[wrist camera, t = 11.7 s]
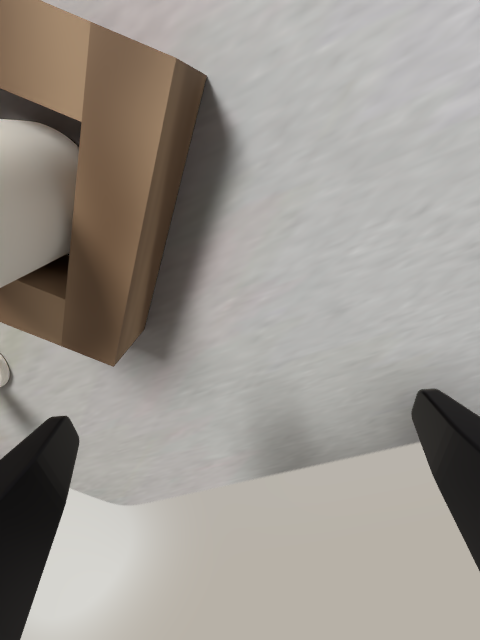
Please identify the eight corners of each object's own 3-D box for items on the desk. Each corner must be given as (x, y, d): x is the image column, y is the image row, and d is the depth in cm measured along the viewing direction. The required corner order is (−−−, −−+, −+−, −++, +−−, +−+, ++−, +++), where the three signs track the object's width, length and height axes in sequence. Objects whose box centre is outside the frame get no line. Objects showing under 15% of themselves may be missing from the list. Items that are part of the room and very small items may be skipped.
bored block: (206, 75, 15) (176, 57, 11) (144, 329, 22) (113, 366, 18) (-104, -56, 14) (-234, -116, 11) (-64, 246, 21) (-136, 268, 18)
